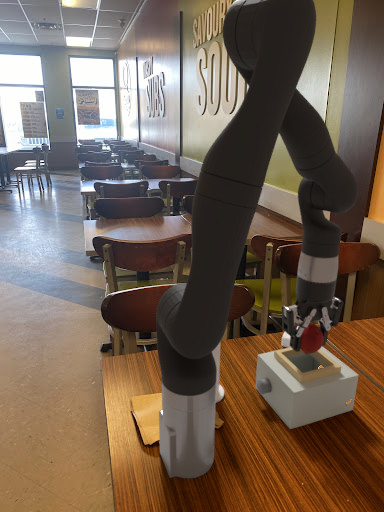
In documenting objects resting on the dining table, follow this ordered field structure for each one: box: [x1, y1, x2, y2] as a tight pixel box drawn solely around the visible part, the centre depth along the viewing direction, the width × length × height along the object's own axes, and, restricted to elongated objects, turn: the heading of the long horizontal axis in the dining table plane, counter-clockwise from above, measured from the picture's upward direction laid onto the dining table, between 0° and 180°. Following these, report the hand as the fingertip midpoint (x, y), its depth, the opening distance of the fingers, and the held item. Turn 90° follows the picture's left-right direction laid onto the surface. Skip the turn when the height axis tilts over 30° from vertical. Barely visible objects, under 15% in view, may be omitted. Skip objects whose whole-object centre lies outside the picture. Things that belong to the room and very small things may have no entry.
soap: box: [280, 325, 299, 348], centre depth 112 cm, size 9×6×3 cm, turn 156°
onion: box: [300, 321, 324, 354], centre depth 83 cm, size 6×6×8 cm
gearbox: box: [254, 346, 360, 430], centre depth 87 cm, size 18×14×10 cm
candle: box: [212, 340, 225, 404], centre depth 86 cm, size 7×7×25 cm
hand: (308, 346), depth 84 cm, fingers closed on onion, 6 cm apart
